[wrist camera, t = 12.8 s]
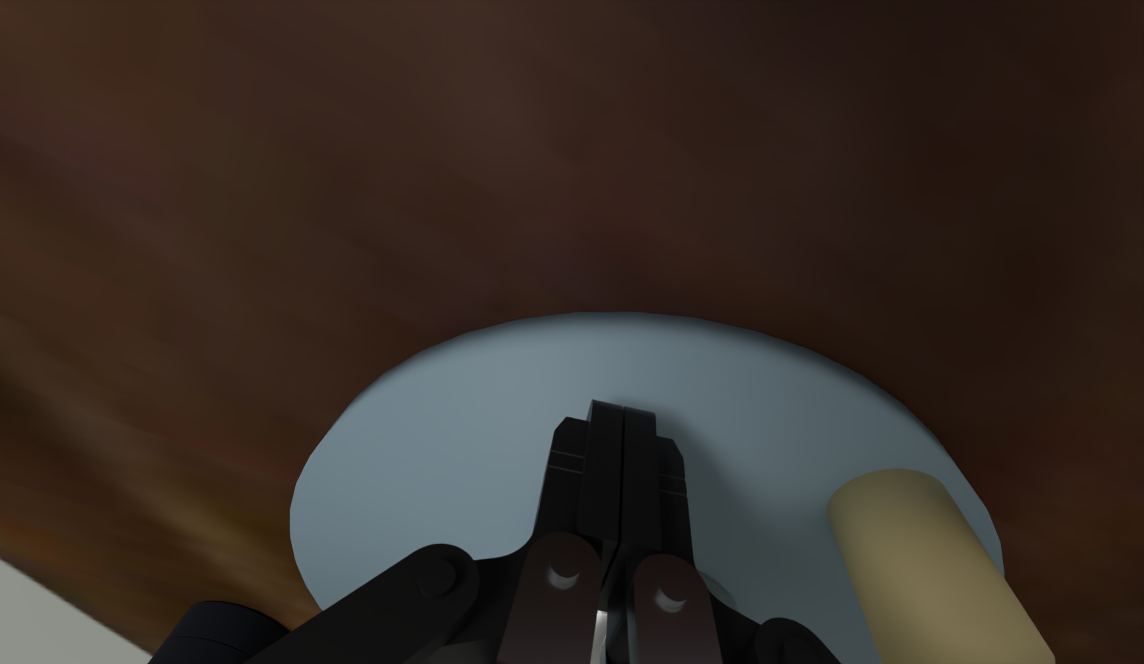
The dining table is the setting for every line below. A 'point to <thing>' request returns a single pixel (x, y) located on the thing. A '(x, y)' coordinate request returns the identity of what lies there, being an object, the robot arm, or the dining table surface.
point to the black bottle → (218, 635)
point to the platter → (712, 473)
